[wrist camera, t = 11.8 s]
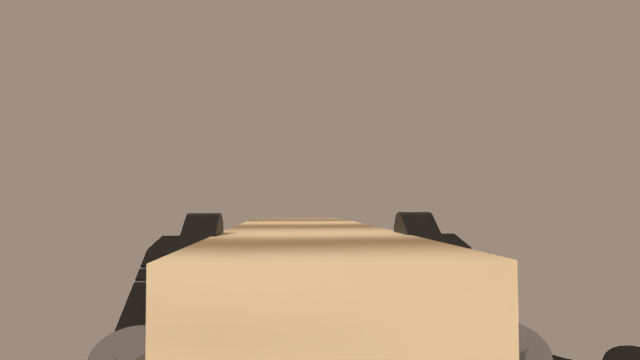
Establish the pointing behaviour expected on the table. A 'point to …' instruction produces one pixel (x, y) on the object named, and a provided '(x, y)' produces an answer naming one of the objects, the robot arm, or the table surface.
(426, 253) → the beech bar
